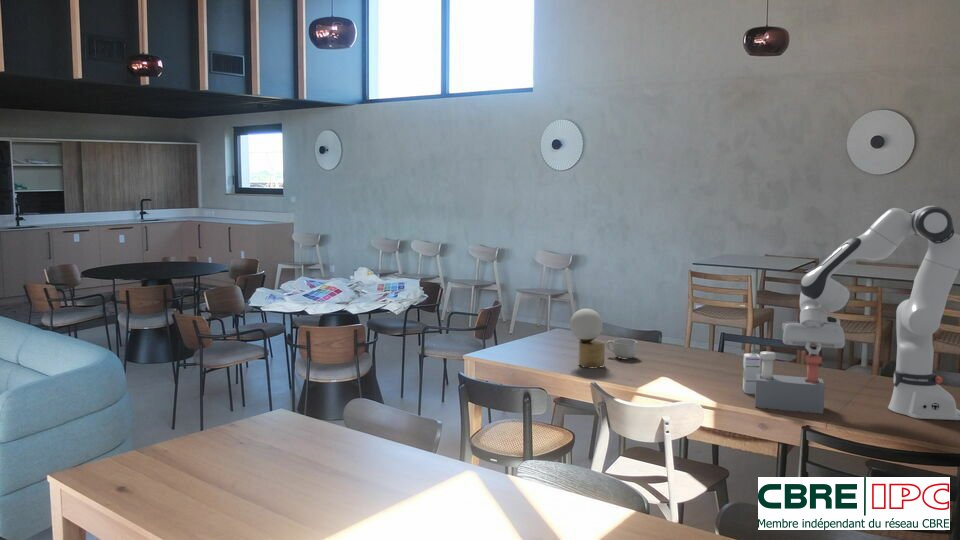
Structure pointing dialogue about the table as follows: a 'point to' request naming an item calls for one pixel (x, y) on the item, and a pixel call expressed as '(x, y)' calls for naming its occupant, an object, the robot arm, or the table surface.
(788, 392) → the block
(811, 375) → the red plug
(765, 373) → the grey bulb-shaped piece
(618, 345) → the teacup
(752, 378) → the syrup box
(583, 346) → the lamp
